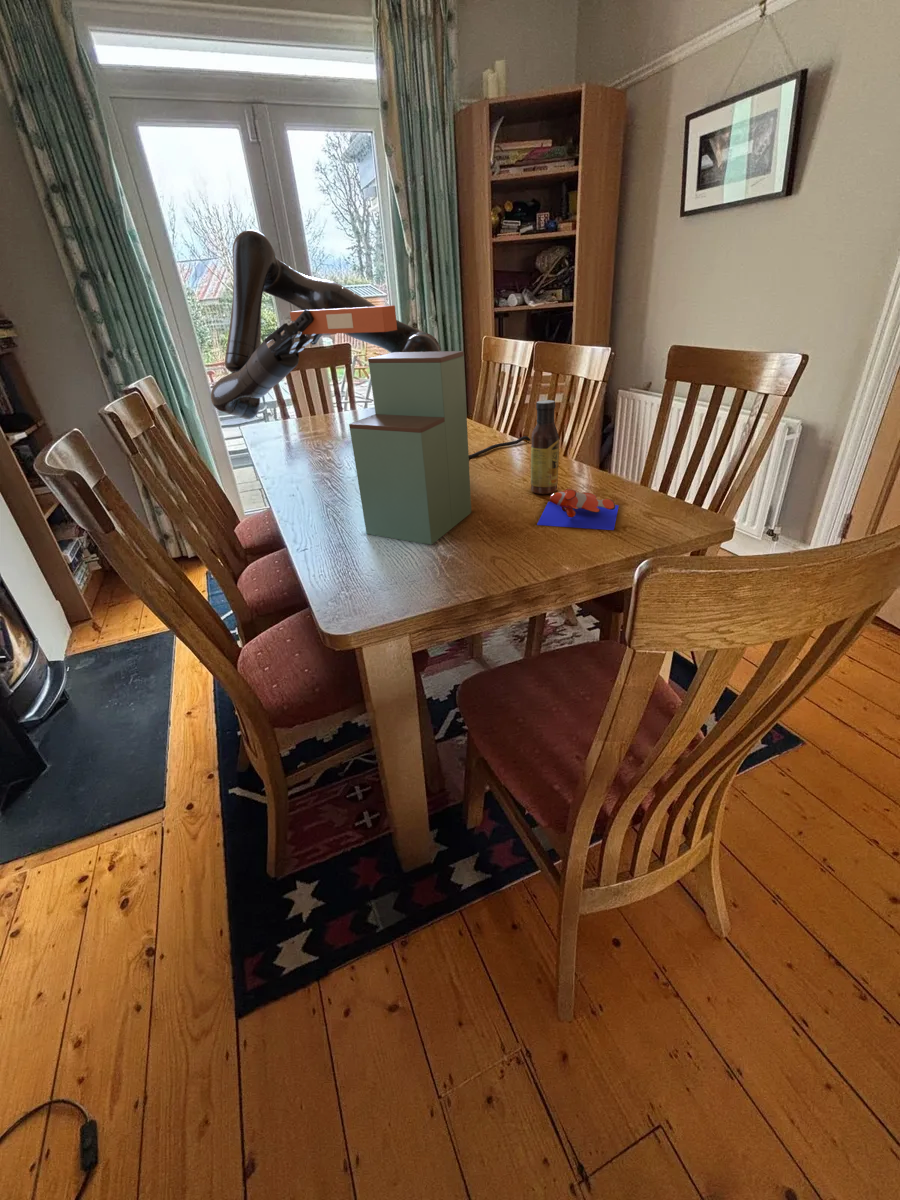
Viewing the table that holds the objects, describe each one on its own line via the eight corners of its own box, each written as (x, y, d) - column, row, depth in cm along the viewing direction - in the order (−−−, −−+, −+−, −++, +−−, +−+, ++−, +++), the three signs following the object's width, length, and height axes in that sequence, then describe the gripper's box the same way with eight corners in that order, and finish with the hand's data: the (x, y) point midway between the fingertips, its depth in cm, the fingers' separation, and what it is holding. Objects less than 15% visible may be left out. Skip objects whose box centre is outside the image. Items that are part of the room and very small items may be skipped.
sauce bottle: (557, 495, 120) (560, 404, 110) (529, 495, 121) (530, 405, 111) (557, 486, 126) (561, 398, 115) (531, 486, 127) (532, 399, 117)
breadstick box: (293, 334, 105) (289, 311, 103) (307, 332, 108) (303, 310, 106) (385, 332, 95) (382, 306, 93) (397, 329, 98) (395, 305, 96)
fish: (547, 495, 106) (554, 481, 112) (546, 517, 108) (553, 502, 115) (614, 498, 102) (617, 484, 108) (612, 521, 104) (615, 505, 111)
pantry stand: (366, 534, 109) (339, 365, 92) (411, 504, 122) (394, 352, 105) (431, 545, 102) (415, 364, 85) (471, 512, 115) (463, 351, 98)
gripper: (236, 349, 107) (281, 296, 96) (285, 341, 117) (331, 292, 107) (257, 383, 109) (304, 335, 98) (304, 372, 119) (351, 328, 108)
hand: (318, 313), depth 102 cm, fingers closed on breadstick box, 4 cm apart
